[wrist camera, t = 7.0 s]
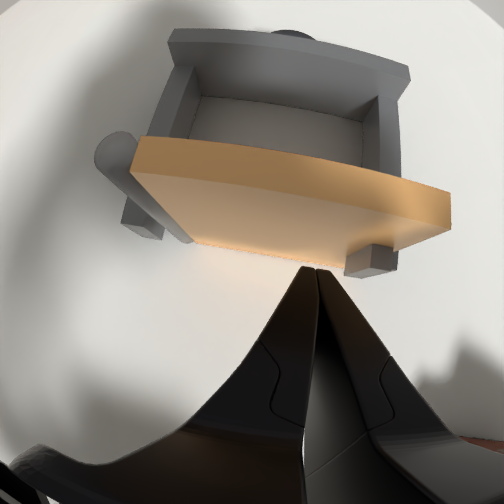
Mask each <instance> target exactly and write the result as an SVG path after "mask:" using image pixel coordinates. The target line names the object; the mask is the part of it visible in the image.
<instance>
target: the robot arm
mask: <svg viewBox="0 0 504 504" xmlns="http://www.w3.org/2000/svg"><path fill="white" fill-rule="evenodd" d="M303 435H304V465H303V455H302V446H303ZM46 496H48V497H50V498H51V499H53V500H55V501H57V502H59V504H504V454H500V453H497V452H494V451H491V450H488V449H485V448H483V447H480V446H477V445H474V444H471V443H469V442H466V441H464V440H462V439H460V438H458V437H457V436H456V435H454V434H453V433H452V432H451V431H450V430H449V429H448V428H447V427H446V426H445V424H444V423H443V422H442V421H441V419H440V418H439V417H438V416H437V414H436V413H435V412H434V411H433V409H432V408H431V407H430V406H429V404H428V403H427V402H426V401H425V400H424V398H423V397H422V396H421V395H420V393H419V392H418V391H417V390H416V388H415V387H414V386H413V385H412V383H411V382H410V381H409V379H408V378H407V377H406V375H405V374H404V372H403V371H402V370H401V368H400V367H399V365H398V364H397V363H396V361H395V360H394V358H393V357H392V356H390V353H389V351H388V350H387V348H386V347H385V345H384V344H383V343H382V341H381V340H380V338H379V337H378V335H377V334H376V333H375V331H374V330H373V328H372V327H371V326H370V324H369V323H368V321H367V320H366V319H365V317H364V316H363V314H362V313H361V312H360V310H359V309H358V308H357V306H356V305H355V304H354V302H353V301H352V299H351V298H350V297H349V295H348V294H347V293H346V291H345V290H344V289H343V287H342V286H341V285H340V283H339V282H338V281H337V279H336V278H335V277H334V275H333V274H332V273H331V272H330V271H329V270H323V269H316V270H315V269H314V268H311V267H305V266H301V267H300V269H299V271H298V272H297V274H296V276H295V277H294V279H293V281H292V283H291V284H290V286H289V288H288V289H287V291H286V293H285V294H284V296H283V298H282V299H281V301H280V303H279V304H278V306H277V308H276V309H275V311H274V313H273V314H272V316H271V318H270V319H269V321H268V322H267V324H266V326H265V327H264V329H263V331H262V332H261V334H260V335H259V337H258V339H257V340H256V341H255V343H254V345H253V346H252V348H251V349H250V351H249V352H248V354H247V355H246V357H245V358H244V359H243V361H242V362H241V364H240V365H239V366H238V367H237V369H236V370H235V371H234V372H233V373H232V375H231V376H230V377H229V378H228V379H227V380H226V381H225V383H224V384H223V385H222V386H221V387H220V388H219V389H218V390H217V391H216V392H215V393H214V394H213V395H212V396H211V397H210V399H209V400H208V401H207V402H206V403H205V404H204V405H203V406H202V407H201V408H200V409H199V410H198V411H197V412H196V413H195V414H194V415H193V416H192V417H191V418H190V419H189V420H187V421H186V422H185V423H184V424H183V425H181V426H180V427H179V428H177V429H176V430H174V431H173V432H171V433H169V434H167V435H165V436H163V437H161V438H160V439H158V440H156V441H154V442H152V443H150V444H148V445H146V446H144V447H142V448H140V449H138V450H136V451H134V452H132V453H130V454H128V455H126V456H124V457H121V458H119V459H117V460H115V461H112V462H109V463H105V464H86V463H83V462H79V461H77V460H75V459H72V458H70V457H68V456H66V455H64V454H62V453H60V452H58V451H56V450H54V449H52V448H50V447H48V446H45V445H43V444H37V445H36V446H34V447H32V448H31V449H29V450H27V451H25V452H24V453H22V454H21V455H19V456H18V457H17V458H15V459H14V460H13V461H12V463H11V464H10V465H9V466H8V465H6V464H5V463H3V462H2V461H1V460H0V504H50V503H49V501H48V499H47V497H46Z"/></svg>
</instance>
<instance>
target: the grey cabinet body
mask: <svg viewBox="0 0 504 504" xmlns="http://www.w3.org/2000/svg"><path fill="white" fill-rule="evenodd" d="M167 43H168V46H169V49H170V52H171V55H172V59H173V62H174V68H173V70H172V72H171V75H170V77H169V79H168V82H167V84H166V86H165V89H164V91H163V94H162V96H161V99H160V101H159V104H158V106H157V109H156V111H155V114H154V117H153V119H152V122H151V125H150V127H149V130H148V133H147V136H155V137H169V138H182V139H188V137H189V134H190V130H191V127H192V124H193V121H194V117H195V114H196V111H197V108H198V105H199V102H200V99H201V96H211V97H223V98H233V99H242V100H250V101H258V102H265V103H272V104H279V105H285V106H291V107H297V108H302V109H307V110H312V111H317V112H322V113H327V114H332V115H336V116H340V117H345V118H349V119H353V120H357V121H361V122H363V147H362V168H365V169H369V170H373V171H377V172H381V173H385V174H389V175H392V176H396V177H400V178H401V148H400V129H399V115H398V104H397V101H398V99H399V98H400V96H401V95H402V93H403V92H404V90H405V89H406V87H407V86H408V84H409V83H410V81H411V79H410V74H409V68H408V66H407V65H404V64H401V63H398V62H395V61H392V60H389V59H386V58H383V57H380V56H377V55H373V54H370V53H366V52H363V51H359V50H355V49H352V48H348V47H344V46H339V45H335V44H331V43H326V42H321V41H316V40H315V39H314V38H312V37H311V36H309V35H307V34H305V33H302V32H299V31H294V30H279V31H274V32H271V33H265V32H255V31H244V30H229V29H174V31H173V32H172V34H171V36H170V38H169V40H168V42H167ZM121 224H122V225H124V226H125V227H127V228H129V229H130V230H132V231H134V232H135V233H137V234H139V235H140V236H142V237H147V238H153V239H158V240H162V237H163V233H164V227H163V226H162V225H161V224H160V223H158V222H157V221H156V220H155V219H154V218H153V217H151V216H150V215H149V214H148V213H147V212H146V211H144V210H143V209H142V208H141V207H140V206H139V205H138V204H136V203H135V202H134V201H133V200H132V199H131V198H130V197H127V200H126V204H125V208H124V211H123V215H122V219H121ZM398 252H399V250H398V251H395V252H393V260H392V271H396V270H397V264H398ZM392 271H391V272H392ZM383 274H384V273H383Z"/></svg>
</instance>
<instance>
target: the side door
mask: <svg viewBox="0 0 504 504" xmlns="http://www.w3.org/2000/svg"><path fill="white" fill-rule="evenodd" d="M94 162H95V165H96V167H97V169H98V170H99V171H100V172H102V173H103V174H104V175H105V176H106V177H107V178H108V179H109V180H110V181H112V182H113V183H114V184H115V185H116V186H117V187H118V188H119V189H121V190H122V191H123V192H124V193H125V194H126V195H127V196H128V197H130V198H131V199H132V200H133V201H134V202H135V203H136V204H138V205H139V206H140V207H141V208H142V209H143V210H144V211H146V212H147V213H148V214H149V215H150V216H151V217H153V218H154V219H155V220H156V221H157V222H158V223H160V224H161V225H162V226H163V227H164V228H165V229H167V230H168V231H169V232H170V233H171V234H172V235H174V236H175V237H176V238H177V239H178V240H180V241H181V242H183V243H191V242H193V241H195V242H196V243H198V244H204V245H210V246H215V247H221V248H227V249H233V250H239V251H245V252H251V253H257V254H262V255H268V256H274V257H280V258H286V259H292V260H298V261H304V262H309V263H315V264H321V265H327V266H333V267H339V268H345V270H344V276H348V277H354V278H360V279H362V278H366V277H371V276H375V275H379V274H383V273H388V272H391V271H392V260H393V252H395V251H398V250H401V249H403V248H406V247H408V246H411V245H414V244H416V243H419V242H421V241H424V240H426V239H429V238H431V237H434V236H436V235H439V234H441V233H444V232H446V231H449V230H451V197H450V193H449V192H446V191H443V190H440V189H437V188H434V187H431V186H427V185H424V184H421V183H417V182H414V181H410V180H407V179H403V178H400V177H396V176H392V175H389V174H385V173H381V172H377V171H373V170H369V169H365V168H361V167H357V166H352V165H348V164H344V163H339V162H334V161H330V160H325V159H320V158H315V157H310V156H305V155H299V154H294V153H288V152H283V151H277V150H270V149H264V148H258V147H251V146H244V145H236V144H229V143H220V142H212V141H203V140H193V139H182V138H169V137H155V136H141V138H140V141H139V143H137V141H136V140H135V138H134V137H133V136H132V135H131V134H129V133H127V132H115V133H113V134H110V135H109V136H107V137H106V138H105V139H103V140H102V142H101V143H100V144H99V145H98V147H97V149H96V152H95V156H94Z"/></svg>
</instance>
